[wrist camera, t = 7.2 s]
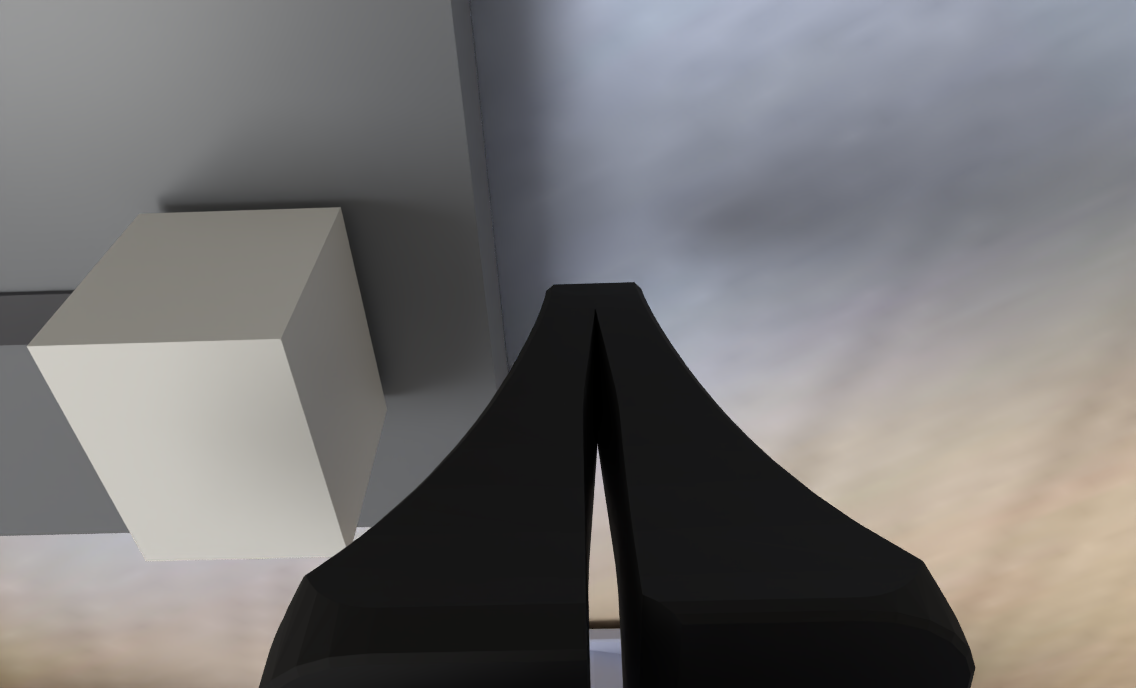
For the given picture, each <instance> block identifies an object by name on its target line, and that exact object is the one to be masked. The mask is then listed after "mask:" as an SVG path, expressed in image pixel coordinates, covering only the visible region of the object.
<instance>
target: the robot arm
mask: <svg viewBox="0 0 1136 688" xmlns="http://www.w3.org/2000/svg"><path fill="white" fill-rule="evenodd" d="M597 443H598V450H599V457H600V464H601V470H602V477H603V484H604V491H605V497H606V504H607V511H608V517H609V524H610V531H611V538H612V544H613V551H614V558H615V565H616V574H617V584H618V596H619V616H620V628H615V629H589V602H588V582H589V557H590V543H591V529H592V514H593V500H594V486H595V472H596V458H597ZM974 671H975V665H974V661H973V658H972V654H971V650H970V648H969V645H968V643H967V640H966V638H965V635H964V633H963V631H962V629H961V627H960V624H959V622H958V620H957V618H956V616H955V614H954V612H953V611H952V609H951V607H950V605H949V604H948V602H947V600H946V598H945V597H944V595H943V593H942V592H941V590H940V588H939V587H938V585H937V583H936V582H935V580H934V578H933V577H932V575H931V573H930V572H929V570H928V568H927V567H926V565H925V563H924V562H923V561H922V560H920V559H919V558H917V557H915V556H913V555H912V554H910V553H908V552H907V551H905V550H903V549H901V548H900V547H898V546H896V545H895V544H893V543H891V542H889V541H888V540H886V539H884V538H883V537H881V536H879V535H877V534H876V533H874V532H872V531H871V530H869V529H867V528H865V527H864V526H862V525H860V524H859V523H857V522H856V521H854V520H853V519H851V518H849V517H848V516H847V515H845V514H844V513H842V512H841V511H839V510H838V509H836V508H835V507H833V506H832V505H831V504H829V503H828V502H826V501H825V500H823V499H822V498H820V497H819V496H817V495H816V494H815V493H813V492H812V491H811V490H810V489H808V488H807V487H806V486H805V485H803V484H802V483H801V482H800V481H798V480H797V479H796V478H795V477H793V476H792V475H791V474H790V473H788V472H787V471H786V470H785V469H783V468H782V467H781V466H780V465H778V464H777V463H776V462H775V461H774V460H772V459H771V458H770V457H769V456H768V455H767V454H766V453H765V452H764V451H763V450H762V449H761V448H759V447H758V446H757V445H756V444H755V443H754V442H753V441H752V440H751V439H750V438H749V437H748V436H747V435H746V434H745V433H744V432H743V431H742V430H741V429H740V428H739V427H738V426H737V425H736V424H735V423H734V422H733V421H732V420H731V419H730V418H729V417H728V416H727V414H726V413H725V412H724V411H723V410H722V409H721V408H720V407H719V405H718V404H717V403H716V402H715V401H714V400H713V399H712V397H711V396H710V395H709V394H708V392H707V391H706V390H705V389H704V388H703V386H702V385H701V384H700V383H699V381H698V380H697V379H696V378H695V376H694V375H693V374H692V372H691V371H690V370H689V368H688V367H687V366H686V364H685V363H684V361H683V360H682V358H681V357H680V356H679V354H678V353H677V351H676V350H675V348H674V347H673V346H672V344H671V343H670V341H669V340H668V338H667V336H666V335H665V333H664V332H663V330H662V328H661V327H660V325H659V323H658V322H657V320H656V318H655V317H654V315H653V313H652V311H651V309H650V307H649V305H648V303H647V301H646V299H645V297H644V295H643V292H642V290H641V288H640V287H639V286H638V285H637V284H635V283H634V282H627V283H593V284H558V285H553V286H551V287H550V288H549V289H548V290H547V291H546V295H545V299H544V302H543V305H542V308H541V310H540V313H539V315H538V318H537V320H536V322H535V324H534V327H533V329H532V331H531V333H530V335H529V337H528V339H527V341H526V343H525V345H524V346H523V348H522V350H521V352H520V354H519V356H518V358H517V359H516V361H515V363H514V365H513V367H512V368H511V370H510V372H509V373H508V375H507V376H506V378H505V379H504V381H503V383H502V384H501V386H500V387H499V389H498V390H497V392H496V393H495V395H494V396H493V398H492V399H491V401H490V403H489V404H488V405H487V407H486V408H485V410H484V411H483V412H482V414H481V415H480V416H479V418H478V419H477V420H476V422H475V423H474V424H473V426H472V427H471V428H470V429H469V431H468V432H467V433H466V434H465V435H464V437H463V438H462V439H461V440H460V442H459V443H458V444H457V445H456V446H455V448H454V449H453V450H452V451H451V452H450V453H449V454H448V455H447V456H446V457H445V458H444V460H443V461H442V462H441V463H440V464H439V465H438V466H437V467H436V468H435V469H434V470H433V472H432V473H431V474H430V475H429V476H428V477H427V478H426V479H425V480H424V481H423V482H422V483H421V484H420V485H419V486H418V487H417V488H416V489H415V490H414V491H412V492H411V493H410V494H409V495H408V496H407V497H406V498H405V499H403V500H402V501H401V502H400V503H399V504H398V505H397V506H396V507H394V508H393V509H392V510H391V511H390V512H389V513H388V514H387V515H385V516H384V517H383V518H382V519H381V520H380V521H379V522H377V523H376V524H375V525H374V526H373V527H372V528H370V529H369V530H368V531H367V532H365V533H364V534H363V535H362V536H361V537H359V538H358V539H356V540H355V541H354V542H352V543H351V544H349V545H348V546H347V547H345V548H344V549H342V550H341V551H340V552H338V553H337V554H336V555H334V556H333V557H331V558H330V559H329V560H327V561H326V562H324V563H323V564H322V565H320V566H319V567H317V568H316V569H314V570H313V571H311V572H310V573H308V574H307V575H305V576H304V577H303V579H302V581H301V583H300V585H299V587H298V589H297V591H296V593H295V595H294V597H293V599H292V601H291V603H290V605H289V607H288V609H287V611H286V614H285V616H284V618H283V620H282V622H281V624H280V626H279V628H278V631H277V633H276V635H275V638H274V641H273V643H272V646H271V648H270V652H269V655H268V658H267V662H266V665H265V668H264V672H263V675H262V679H261V682H260V685H259V688H970V687H971V683H972V679H973V675H974Z"/></svg>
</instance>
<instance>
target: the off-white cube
mask: <svg viewBox="0 0 1136 688" xmlns="http://www.w3.org/2000/svg"><path fill="white" fill-rule="evenodd" d="M27 348H28V350H29V351H30V353H31V355H32V357H33V359H34V361H35V362H36V364H37V366H38V368H39V370H40V371H41V373H42V375H43V377H44V379H45V380H46V382H47V384H48V386H49V388H50V389H51V391H52V393H53V395H54V397H55V398H56V400H57V402H58V404H59V406H60V407H61V409H62V411H63V413H64V415H65V416H66V418H67V420H68V422H69V424H70V425H71V427H72V429H73V431H74V433H75V434H76V436H77V438H78V440H79V442H80V443H81V445H82V447H83V449H84V451H85V452H86V454H87V456H88V458H89V460H90V462H91V463H92V465H93V467H94V469H95V471H96V472H97V474H98V476H99V478H100V480H101V481H102V483H103V485H104V487H105V489H106V490H107V492H108V494H109V496H110V498H111V499H112V501H113V503H114V505H115V507H116V508H117V510H118V512H119V514H120V516H121V517H122V519H123V521H124V523H125V525H126V526H127V528H128V530H129V532H130V534H131V535H132V537H133V539H134V541H135V543H136V544H137V546H138V548H139V550H140V552H141V553H142V555H143V557H144V559H145V561H186V560H229V559H271V558H313V557H333V556H334V555H336V554H337V553H338V552H340V551H341V550H342V549H344V548H345V547H347V546H348V545H349V544H351V543H352V542H353V539H354V535H355V531H356V527H357V524H358V520H359V516H360V512H361V508H362V504H363V500H364V496H365V492H366V489H367V485H368V481H369V477H370V473H371V469H372V465H373V461H374V458H375V454H376V450H377V446H378V442H379V438H380V434H381V430H382V426H383V423H384V419H385V415H386V411H387V407H386V403H385V398H384V394H383V390H382V385H381V381H380V376H379V372H378V368H377V363H376V359H375V355H374V350H373V346H372V342H371V337H370V333H369V328H368V324H367V320H366V315H365V311H364V307H363V302H362V298H361V293H360V289H359V285H358V280H357V276H356V272H355V267H354V263H353V259H352V254H351V250H350V245H349V241H348V237H347V232H346V228H345V224H344V219H343V215H342V211H341V207H331V208H300V209H270V210H239V211H208V212H177V213H147V214H139V215H138V216H137V217H136V218H135V219H134V221H133V222H132V223H131V224H130V225H129V226H128V228H127V229H126V230H125V231H124V232H123V233H122V235H121V236H120V237H119V238H118V239H117V241H116V242H115V243H114V244H113V245H112V246H111V248H110V249H109V250H108V251H107V252H106V253H105V255H104V256H103V257H102V258H101V259H100V261H99V262H98V263H97V264H96V265H95V266H94V268H93V269H92V270H91V271H90V272H89V274H88V275H87V276H86V277H85V278H84V279H83V281H82V282H81V283H80V284H79V285H78V286H77V288H76V289H75V290H74V291H73V292H72V294H71V295H70V296H69V297H68V298H67V299H66V301H65V302H64V303H63V304H62V305H61V306H60V308H59V309H58V310H57V311H56V312H55V314H54V315H53V316H52V317H51V318H50V319H49V321H48V322H47V323H46V324H45V325H44V326H43V328H42V329H41V330H40V331H39V332H38V334H37V335H36V336H35V337H34V338H33V339H32V341H31V342H30V343H29V344H28V345H27Z"/></svg>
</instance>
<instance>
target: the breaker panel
mask: <svg viewBox="0 0 1136 688" xmlns="http://www.w3.org/2000/svg"><path fill="white" fill-rule="evenodd" d="M331 207H341V211H342V215H343V219H344V224H345V228H346V232H347V237H348V241H349V245H350V250H351V254H352V259H353V263H354V267H355V272H356V276H357V280H358V285H359V289H360V293H361V298H362V302H363V307H364V311H365V315H366V320H367V324H368V328H369V333H370V337H371V342H372V346H373V350H374V355H375V359H376V363H377V368H378V372H379V376H380V381H381V385H382V390H383V394H384V398H385V403H386V407H387V411H386V415H385V419H384V423H383V426H382V430H381V434H380V438H379V442H378V446H377V450H376V454H375V458H374V461H373V465H372V469H371V473H370V477H369V481H368V485H367V489H366V492H365V496H364V500H363V504H362V508H361V512H360V516H359V520H358V524H357V527H373V526H374V525H375V524H376V523H377V522H379V521H380V520H381V519H382V518H383V517H384V516H385V515H387V514H388V513H389V512H390V511H391V510H392V509H393V508H394V507H396V506H397V505H398V504H399V503H400V502H401V501H402V500H403V499H405V498H406V497H407V496H408V495H409V494H410V493H411V492H412V491H414V490H415V489H416V488H417V487H418V486H419V485H420V484H421V483H422V482H423V481H424V480H425V479H426V478H427V477H428V476H429V475H430V474H431V473H432V472H433V470H434V469H435V468H436V467H437V466H438V465H439V464H440V463H441V462H442V461H443V460H444V458H445V457H446V456H447V455H448V454H449V453H450V452H451V451H452V450H453V449H454V448H455V446H456V445H457V444H458V443H459V442H460V440H461V439H462V438H463V437H464V435H465V434H466V433H467V432H468V431H469V429H470V428H471V427H472V426H473V424H474V423H475V422H476V420H477V419H478V418H479V416H480V415H481V414H482V412H483V411H484V410H485V408H486V407H487V405H488V404H489V403H490V401H491V399H492V398H493V396H494V395H495V393H496V392H497V390H498V389H499V387H500V386H501V384H502V383H503V381H504V379H505V378H506V376H507V375H508V366H507V356H506V346H505V337H504V327H503V317H502V308H501V298H500V289H499V279H498V269H497V260H496V250H495V240H494V231H493V221H492V212H491V202H490V192H489V183H488V173H487V163H486V154H485V144H484V135H483V125H482V115H481V106H480V96H479V86H478V77H477V67H476V58H475V48H474V38H473V29H472V19H471V9H470V0H0V536H14V535H55V534H96V533H130V532H129V530H128V528H127V526H126V525H125V523H124V521H123V519H122V517H121V516H120V514H119V512H118V510H117V508H116V507H115V505H114V503H113V501H112V499H111V498H110V496H109V494H108V492H107V490H106V489H105V487H104V485H103V483H102V481H101V480H100V478H99V476H98V474H97V472H96V471H95V469H94V467H93V465H92V463H91V462H90V460H89V458H88V456H87V454H86V452H85V451H84V449H83V447H82V445H81V443H80V442H79V440H78V438H77V436H76V434H75V433H74V431H73V429H72V427H71V425H70V424H69V422H68V420H67V418H66V416H65V415H64V413H63V411H62V409H61V407H60V406H59V404H58V402H57V400H56V398H55V397H54V395H53V393H52V391H51V389H50V388H49V386H48V384H47V382H46V380H45V379H44V377H43V375H42V373H41V371H40V370H39V368H38V366H37V364H36V362H35V361H34V359H33V357H32V355H31V353H30V351H29V350H28V348H27V345H28V344H29V343H30V342H31V341H32V339H33V338H34V337H35V336H36V335H37V334H38V332H39V331H40V330H41V329H42V328H43V326H44V325H45V324H46V323H47V322H48V321H49V319H50V318H51V317H52V316H53V315H54V314H55V312H56V311H57V310H58V309H59V308H60V306H61V305H62V304H63V303H64V302H65V301H66V299H67V298H68V297H69V296H70V295H71V294H72V292H73V291H74V290H75V289H76V288H77V286H78V285H79V284H80V283H81V282H82V281H83V279H84V278H85V277H86V276H87V275H88V274H89V272H90V271H91V270H92V269H93V268H94V266H95V265H96V264H97V263H98V262H99V261H100V259H101V258H102V257H103V256H104V255H105V253H106V252H107V251H108V250H109V249H110V248H111V246H112V245H113V244H114V243H115V242H116V241H117V239H118V238H119V237H120V236H121V235H122V233H123V232H124V231H125V230H126V229H127V228H128V226H129V225H130V224H131V223H132V222H133V221H134V219H135V218H136V217H137V216H138V215H139V214H147V213H177V212H208V211H239V210H270V209H300V208H331Z"/></svg>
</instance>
